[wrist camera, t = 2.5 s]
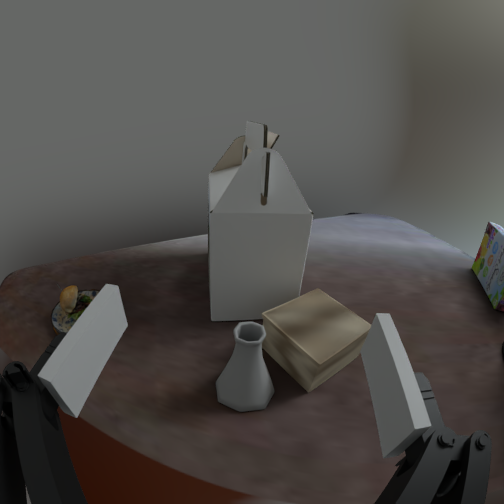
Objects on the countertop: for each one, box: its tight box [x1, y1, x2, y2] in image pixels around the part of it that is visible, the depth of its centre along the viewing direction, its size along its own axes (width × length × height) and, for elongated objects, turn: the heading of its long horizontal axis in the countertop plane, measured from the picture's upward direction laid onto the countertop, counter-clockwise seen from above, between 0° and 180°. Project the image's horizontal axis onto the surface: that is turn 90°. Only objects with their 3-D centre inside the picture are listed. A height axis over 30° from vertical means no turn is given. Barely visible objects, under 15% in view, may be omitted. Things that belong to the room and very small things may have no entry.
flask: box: [216, 321, 275, 412], centre depth 29 cm, size 7×7×10 cm
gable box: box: [208, 121, 313, 321], centre depth 46 cm, size 22×13×28 cm, turn 9°
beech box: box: [261, 289, 371, 393], centre depth 36 cm, size 10×10×6 cm
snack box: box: [472, 222, 504, 312], centre depth 49 cm, size 21×6×15 cm, turn 159°
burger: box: [51, 283, 100, 335], centre depth 37 cm, size 12×12×8 cm
